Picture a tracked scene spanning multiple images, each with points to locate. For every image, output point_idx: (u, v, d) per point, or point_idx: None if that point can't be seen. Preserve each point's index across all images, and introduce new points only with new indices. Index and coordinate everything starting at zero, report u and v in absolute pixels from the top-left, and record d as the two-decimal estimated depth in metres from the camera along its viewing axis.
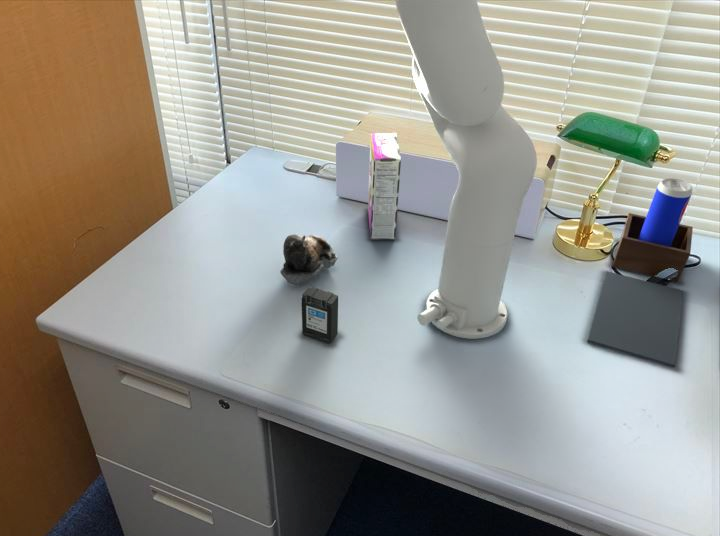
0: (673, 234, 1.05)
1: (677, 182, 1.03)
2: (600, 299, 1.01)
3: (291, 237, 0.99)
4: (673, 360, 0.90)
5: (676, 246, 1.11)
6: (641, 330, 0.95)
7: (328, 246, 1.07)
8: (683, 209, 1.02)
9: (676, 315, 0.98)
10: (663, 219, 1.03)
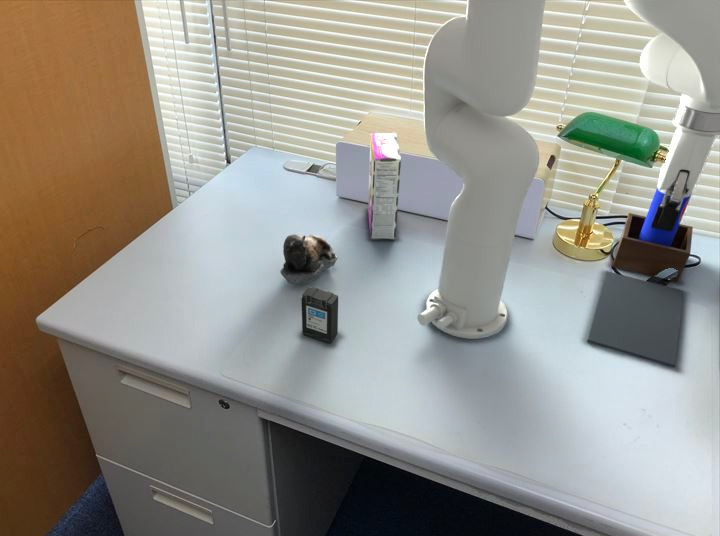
0: (673, 234, 1.05)
1: None
2: (600, 299, 1.01)
3: (291, 237, 0.99)
4: (673, 360, 0.90)
5: (676, 246, 1.11)
6: (641, 330, 0.95)
7: (328, 246, 1.07)
8: (683, 209, 1.02)
9: (676, 315, 0.98)
10: None
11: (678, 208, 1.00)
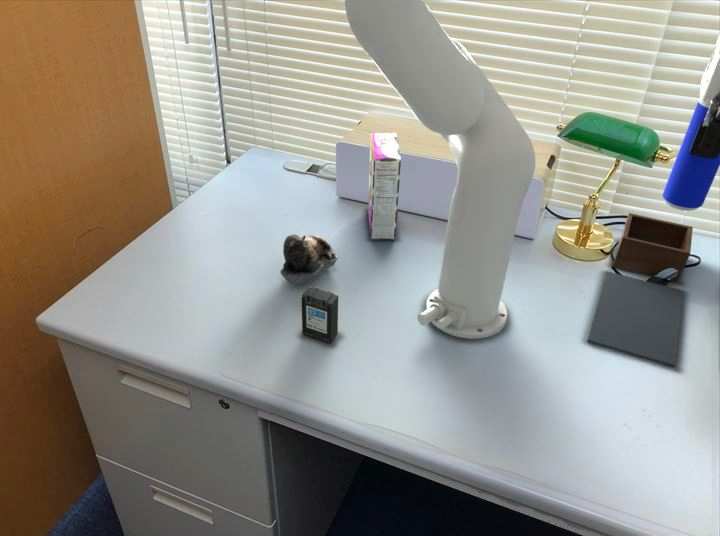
0: (717, 164, 0.82)
1: None
2: (600, 299, 1.01)
3: (291, 237, 0.99)
4: (673, 360, 0.90)
5: (676, 246, 1.11)
6: (641, 330, 0.95)
7: (328, 246, 1.07)
8: None
9: (676, 315, 0.98)
10: None
11: None
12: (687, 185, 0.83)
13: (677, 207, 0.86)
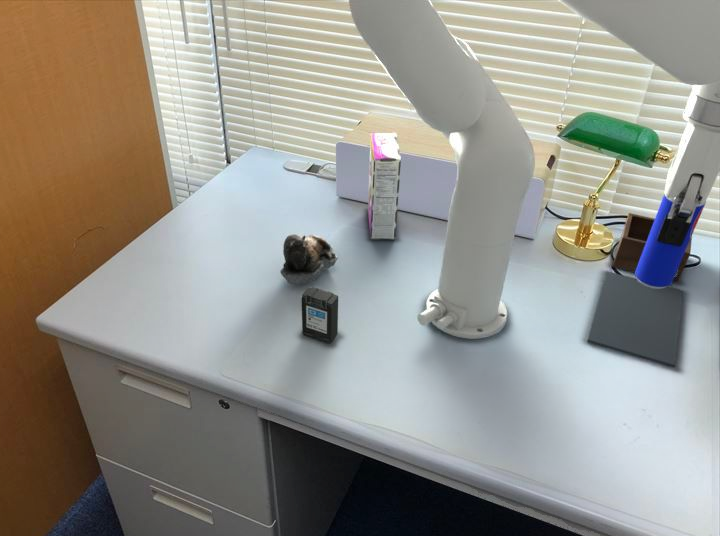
0: (683, 249, 0.89)
1: None
2: (600, 299, 1.01)
3: (291, 237, 0.99)
4: (673, 360, 0.90)
5: None
6: (641, 330, 0.95)
7: (328, 246, 1.07)
8: (695, 220, 0.86)
9: (676, 315, 0.98)
10: None
11: (689, 219, 0.83)
12: (655, 267, 0.91)
13: (648, 285, 0.93)
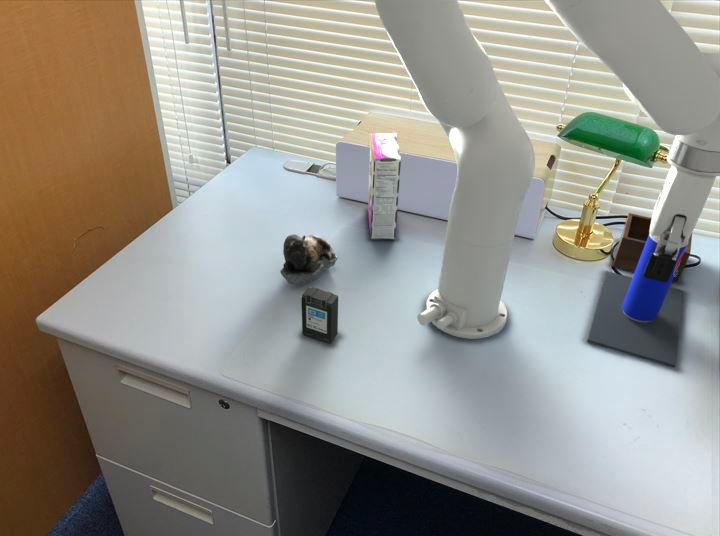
0: (667, 287, 0.93)
1: None
2: (600, 299, 1.01)
3: (291, 237, 0.99)
4: (673, 360, 0.90)
5: None
6: (641, 330, 0.95)
7: (328, 246, 1.07)
8: (678, 260, 0.90)
9: (676, 315, 0.98)
10: None
11: (675, 257, 0.85)
12: (641, 302, 0.95)
13: (634, 319, 0.97)
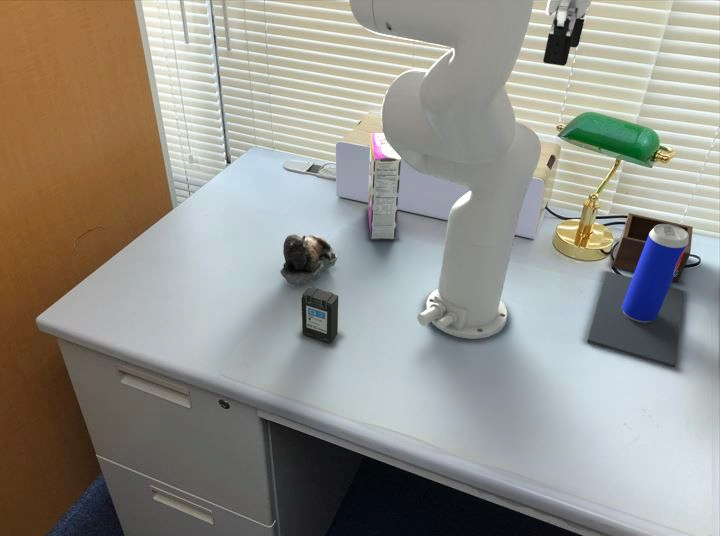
0: (667, 287, 0.93)
1: (671, 228, 0.90)
2: (600, 299, 1.01)
3: (291, 237, 0.99)
4: (673, 360, 0.90)
5: None
6: (641, 330, 0.95)
7: (328, 246, 1.07)
8: (678, 260, 0.90)
9: (676, 315, 0.98)
10: (655, 270, 0.91)
11: (569, 31, 0.86)
12: (641, 302, 0.95)
13: (634, 319, 0.97)
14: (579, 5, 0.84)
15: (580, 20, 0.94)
